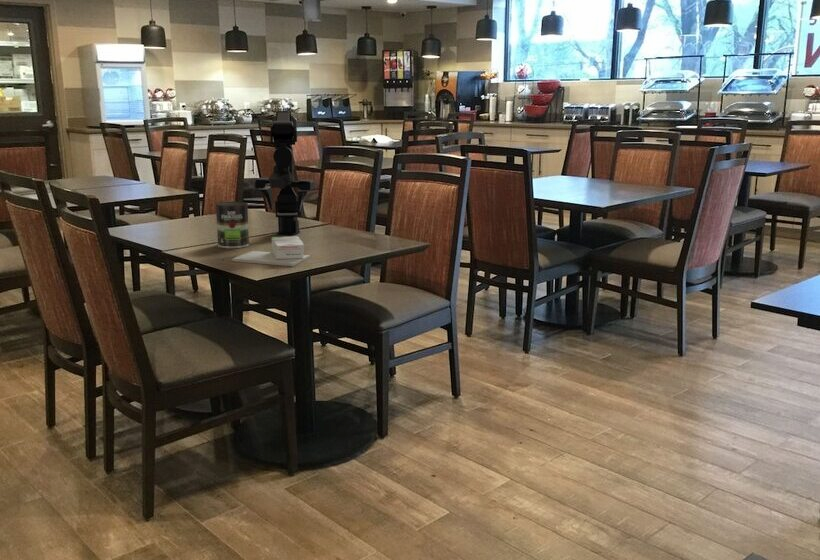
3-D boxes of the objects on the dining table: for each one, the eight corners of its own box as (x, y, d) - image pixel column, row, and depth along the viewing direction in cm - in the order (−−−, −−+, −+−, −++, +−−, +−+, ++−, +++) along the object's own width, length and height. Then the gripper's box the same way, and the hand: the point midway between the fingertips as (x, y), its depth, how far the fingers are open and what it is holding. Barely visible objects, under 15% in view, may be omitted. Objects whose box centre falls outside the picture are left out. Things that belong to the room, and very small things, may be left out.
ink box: (271, 252, 233) (276, 261, 219) (271, 236, 232) (275, 245, 218) (299, 251, 235) (305, 260, 221) (298, 235, 234) (305, 244, 220)
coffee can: (249, 248, 242) (247, 205, 239) (217, 249, 240) (214, 206, 237) (249, 242, 252) (247, 200, 249) (218, 243, 250) (216, 201, 247)
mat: (232, 261, 223) (232, 258, 223) (252, 253, 235) (252, 250, 234) (292, 266, 218) (292, 263, 217) (310, 257, 229) (310, 255, 228)
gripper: (246, 164, 230) (248, 213, 234) (304, 166, 227) (305, 216, 231) (259, 160, 241) (261, 207, 245) (315, 161, 238) (316, 210, 242)
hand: (285, 210), depth 240 cm, fingers open, 9 cm apart
